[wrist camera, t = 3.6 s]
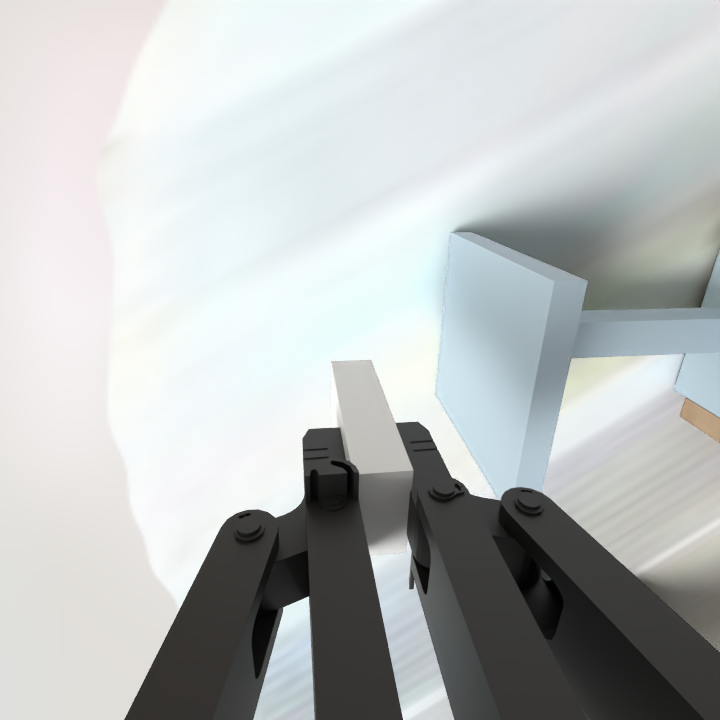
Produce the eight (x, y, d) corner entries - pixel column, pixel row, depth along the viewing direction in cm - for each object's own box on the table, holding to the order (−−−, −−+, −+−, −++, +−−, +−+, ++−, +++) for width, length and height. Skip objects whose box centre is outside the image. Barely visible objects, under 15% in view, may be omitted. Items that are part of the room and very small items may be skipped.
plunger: (434, 401, 29) (507, 527, 19) (451, 222, 25) (557, 266, 15) (689, 388, 32) (871, 495, 22) (746, 223, 27) (1007, 261, 17)
